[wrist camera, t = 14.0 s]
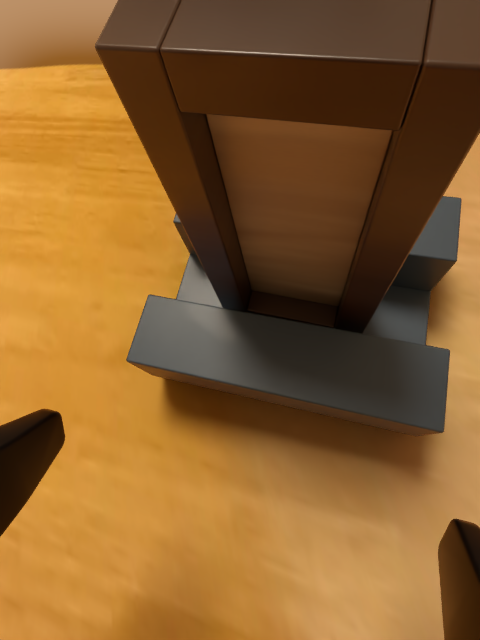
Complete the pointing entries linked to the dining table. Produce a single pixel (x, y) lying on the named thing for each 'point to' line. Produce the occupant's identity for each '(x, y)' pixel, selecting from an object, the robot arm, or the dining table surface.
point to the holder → (313, 344)
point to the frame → (300, 137)
